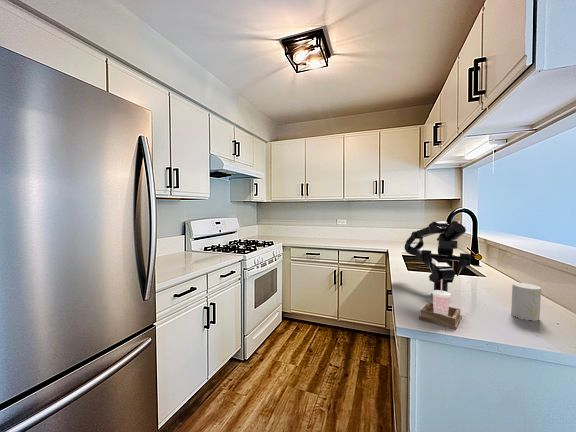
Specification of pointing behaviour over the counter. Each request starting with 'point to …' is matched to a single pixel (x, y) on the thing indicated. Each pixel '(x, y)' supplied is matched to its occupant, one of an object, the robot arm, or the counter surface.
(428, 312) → the tray
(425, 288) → the counter surface
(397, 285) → the counter surface
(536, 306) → the grey upright cylinder
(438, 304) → the beverage cup
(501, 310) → the counter surface
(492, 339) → the counter surface
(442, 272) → the robot arm
